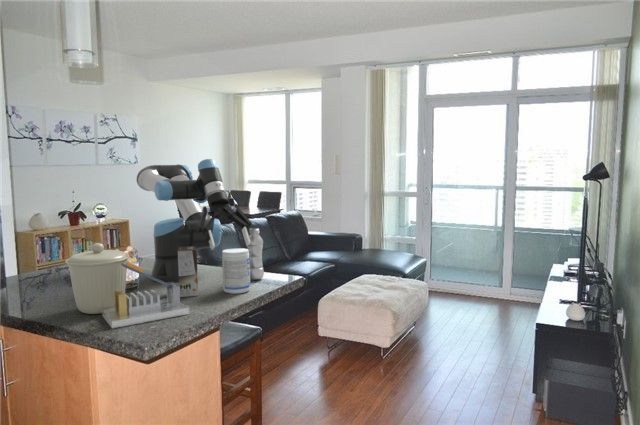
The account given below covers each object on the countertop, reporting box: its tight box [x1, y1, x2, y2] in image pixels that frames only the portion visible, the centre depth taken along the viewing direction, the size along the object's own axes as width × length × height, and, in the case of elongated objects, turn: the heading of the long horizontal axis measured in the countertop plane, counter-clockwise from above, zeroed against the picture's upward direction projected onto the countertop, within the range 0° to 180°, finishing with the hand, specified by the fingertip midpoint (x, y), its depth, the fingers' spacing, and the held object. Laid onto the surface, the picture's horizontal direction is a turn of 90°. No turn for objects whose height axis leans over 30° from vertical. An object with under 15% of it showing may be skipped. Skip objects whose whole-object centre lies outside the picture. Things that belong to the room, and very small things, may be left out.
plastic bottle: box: [246, 227, 265, 281], centre depth 189 cm, size 6×7×20 cm
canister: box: [65, 242, 130, 315], centre depth 152 cm, size 18×18×21 cm
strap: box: [121, 260, 176, 290], centre depth 147 cm, size 3×18×2 cm
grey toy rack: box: [101, 282, 190, 329], centre depth 147 cm, size 14×22×8 cm, turn 124°
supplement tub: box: [221, 247, 251, 295], centre depth 173 cm, size 10×10×15 cm
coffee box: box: [178, 246, 199, 298], centre depth 171 cm, size 9×6×16 cm
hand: (231, 246), depth 176 cm, fingers open, 13 cm apart
